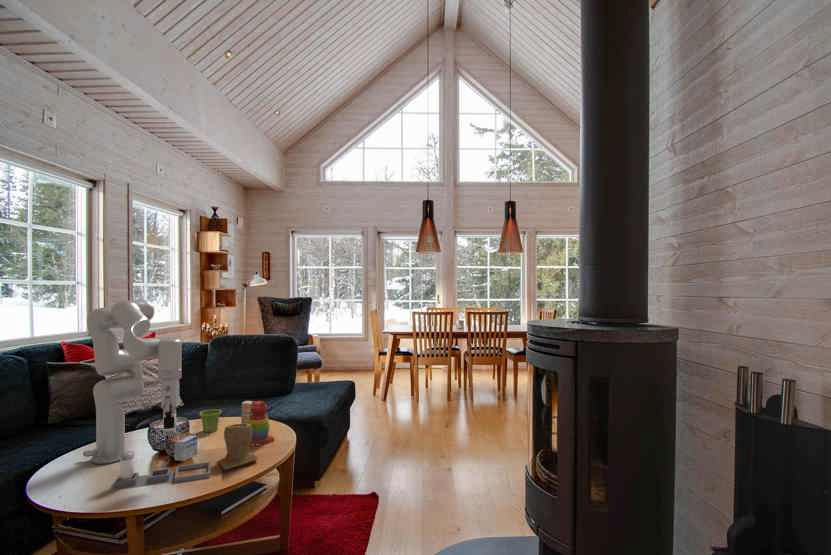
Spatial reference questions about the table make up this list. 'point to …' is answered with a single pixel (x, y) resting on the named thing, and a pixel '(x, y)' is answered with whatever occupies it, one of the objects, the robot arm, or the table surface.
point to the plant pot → (210, 420)
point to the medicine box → (185, 448)
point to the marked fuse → (172, 430)
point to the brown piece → (237, 446)
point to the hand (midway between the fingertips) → (169, 425)
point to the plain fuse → (127, 466)
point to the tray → (192, 477)
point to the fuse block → (144, 479)
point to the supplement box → (246, 411)
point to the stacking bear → (259, 423)
